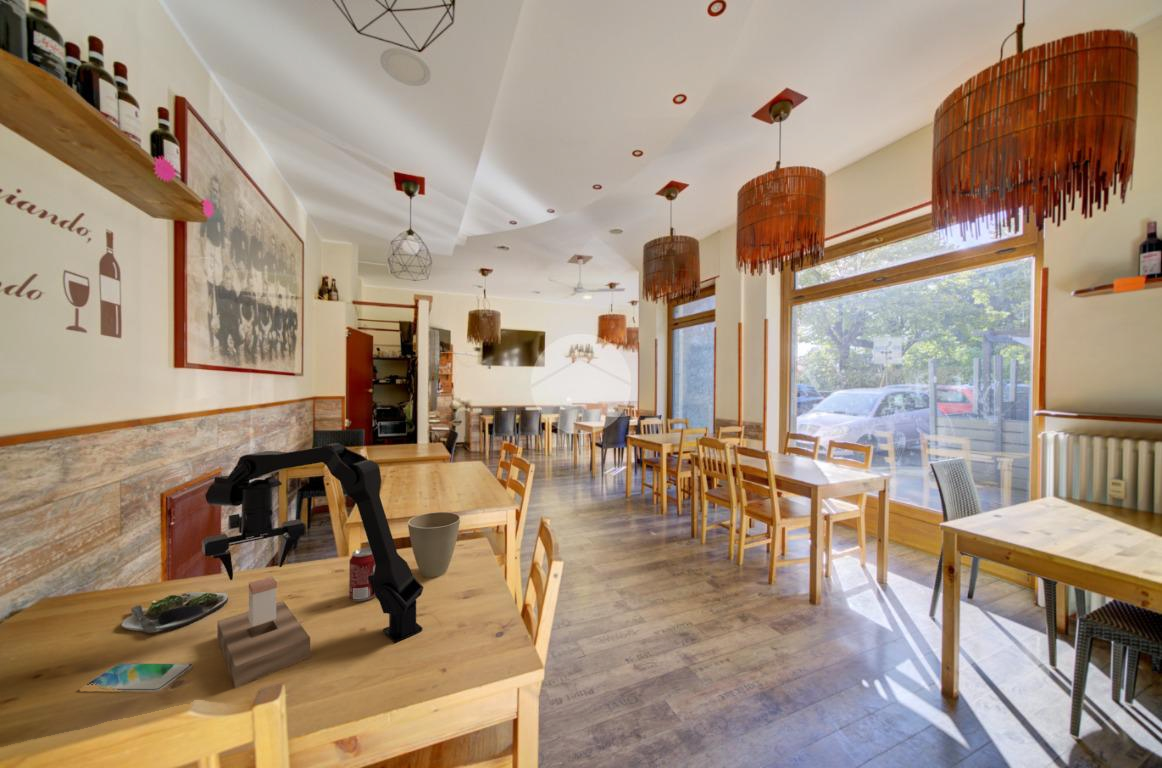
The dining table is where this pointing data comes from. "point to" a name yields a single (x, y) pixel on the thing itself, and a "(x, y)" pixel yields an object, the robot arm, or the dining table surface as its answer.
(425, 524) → the plant pot
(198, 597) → the salad plate
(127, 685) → the smartphone
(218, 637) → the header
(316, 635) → the dining table surface
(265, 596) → the plug
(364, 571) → the soda can
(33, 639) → the dining table surface
